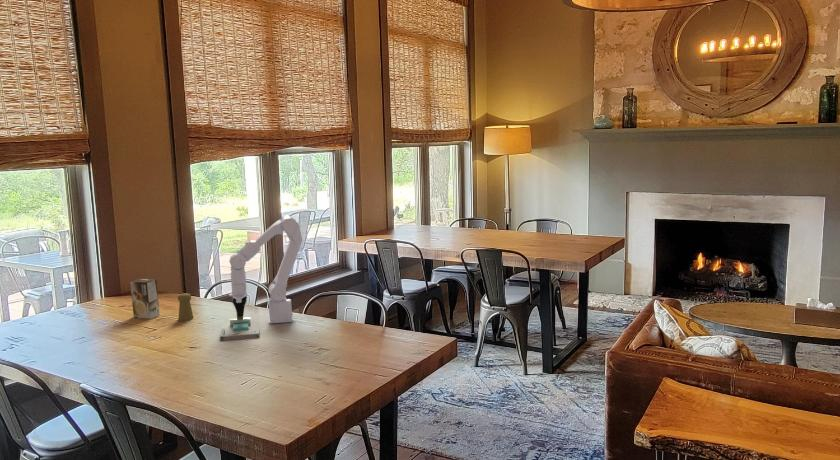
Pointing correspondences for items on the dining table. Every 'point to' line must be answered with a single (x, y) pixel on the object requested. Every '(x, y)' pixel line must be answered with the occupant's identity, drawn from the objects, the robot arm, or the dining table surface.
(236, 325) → the tile
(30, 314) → the dining table surface
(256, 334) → the frame
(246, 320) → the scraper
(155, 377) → the dining table surface
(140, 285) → the coffee box
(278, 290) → the robot arm
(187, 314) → the cork
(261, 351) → the dining table surface
